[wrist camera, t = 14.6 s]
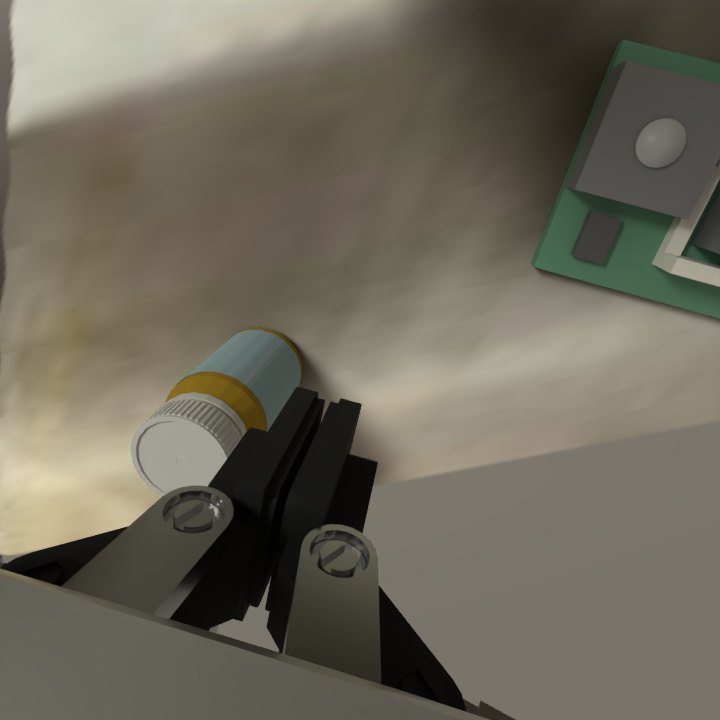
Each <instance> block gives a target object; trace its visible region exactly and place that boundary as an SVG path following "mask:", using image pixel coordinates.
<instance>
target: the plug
mask: <svg viewBox="0 0 720 720" xmlns="http://www.w3.org/2000/svg"><path fill="white" fill-rule="evenodd" d="M690 244H693V245H696V246H698V247H701V248H704V249H707V250H710V251H712V252H715V253H718V254H720V187H719V189H718V191H717V193H716V195H715V197H714V199H713V201H712V203H711V205H710V206H709V208H708V210H707V212H706V214H705V216H704V218H703V220H702V222H701V224H700V226H699V228H698V230H697V232H696V234H695V235H694V237H693V239H692V241H691V243H690Z"/></svg>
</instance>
